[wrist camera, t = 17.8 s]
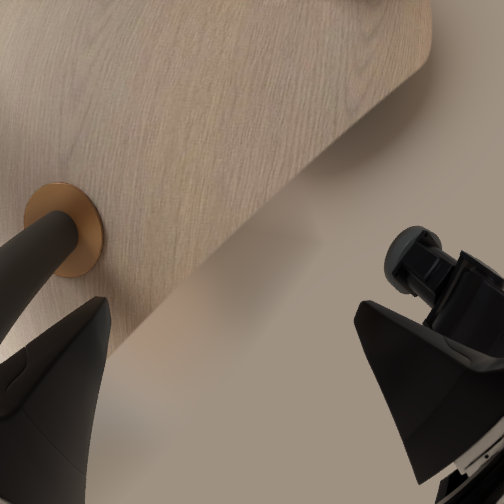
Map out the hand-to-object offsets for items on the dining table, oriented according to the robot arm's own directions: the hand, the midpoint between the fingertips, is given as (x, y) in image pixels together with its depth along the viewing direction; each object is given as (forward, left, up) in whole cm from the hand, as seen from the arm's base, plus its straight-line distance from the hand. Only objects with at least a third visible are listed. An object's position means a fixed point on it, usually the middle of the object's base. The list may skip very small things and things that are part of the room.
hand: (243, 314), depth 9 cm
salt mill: (+11, +9, -13) cm, 19 cm away
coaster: (+11, +9, -13) cm, 19 cm away
